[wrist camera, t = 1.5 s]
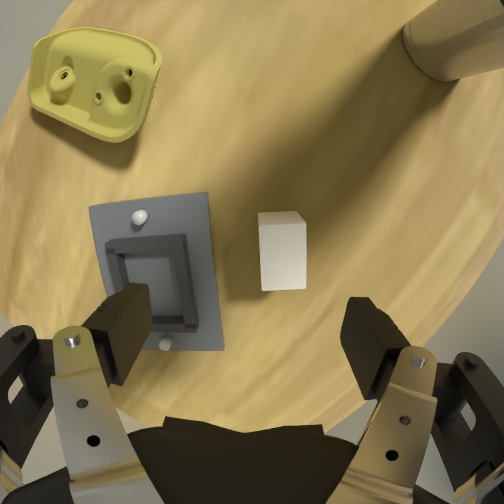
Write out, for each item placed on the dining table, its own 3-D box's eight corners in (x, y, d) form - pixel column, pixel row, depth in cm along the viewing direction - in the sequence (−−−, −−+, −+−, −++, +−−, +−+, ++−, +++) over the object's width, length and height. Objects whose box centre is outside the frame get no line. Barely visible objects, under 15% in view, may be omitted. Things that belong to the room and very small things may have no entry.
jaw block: (296, 210, 29) (306, 223, 23) (296, 264, 31) (305, 288, 25) (257, 212, 29) (258, 225, 23) (260, 266, 31) (261, 291, 25)
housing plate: (207, 191, 28) (202, 195, 26) (224, 345, 34) (222, 359, 32) (93, 205, 29) (80, 209, 26) (125, 342, 35) (118, 354, 32)
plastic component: (26, 105, 22) (35, 32, 15) (66, 89, 28) (79, 25, 21) (134, 158, 24) (162, 57, 17) (173, 134, 29) (202, 54, 22)
